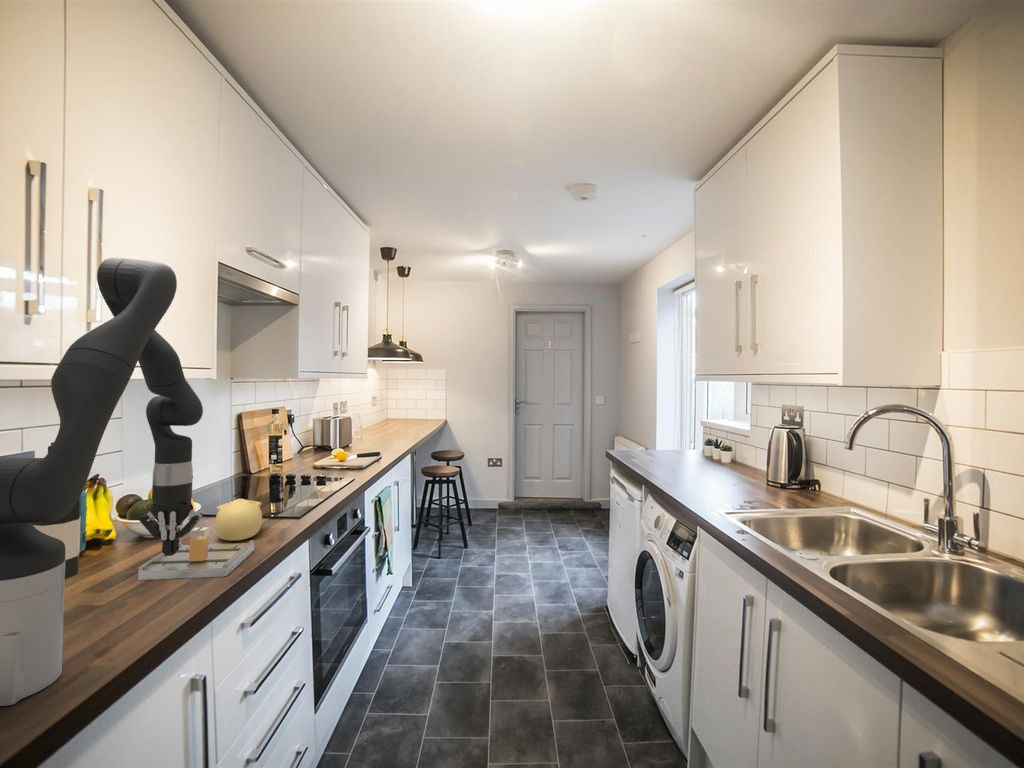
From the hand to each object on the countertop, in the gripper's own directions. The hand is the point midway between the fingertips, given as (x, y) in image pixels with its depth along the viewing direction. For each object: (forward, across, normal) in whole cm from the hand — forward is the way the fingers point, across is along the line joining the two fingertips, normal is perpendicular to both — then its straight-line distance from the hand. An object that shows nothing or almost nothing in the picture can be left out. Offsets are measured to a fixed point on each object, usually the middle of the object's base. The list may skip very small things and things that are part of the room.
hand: (170, 554), depth 106 cm
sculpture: (+4, +6, +22) cm, 24 cm away
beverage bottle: (+4, -28, +10) cm, 30 cm away
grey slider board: (+4, +5, +4) cm, 7 cm away
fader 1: (+1, +3, +7) cm, 8 cm away
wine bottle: (+4, -23, -1) cm, 23 cm away
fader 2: (+1, +6, 0) cm, 6 cm away
